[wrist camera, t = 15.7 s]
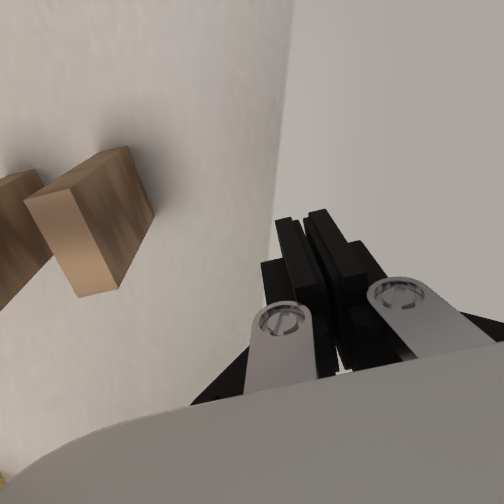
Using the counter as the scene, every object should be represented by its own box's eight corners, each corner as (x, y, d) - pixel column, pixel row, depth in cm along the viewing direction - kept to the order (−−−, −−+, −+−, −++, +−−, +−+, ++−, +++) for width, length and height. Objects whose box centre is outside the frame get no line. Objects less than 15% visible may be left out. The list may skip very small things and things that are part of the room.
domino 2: (154, 216, 30) (118, 288, 20) (127, 223, 30) (78, 298, 20) (126, 145, 27) (69, 188, 17) (97, 153, 27) (23, 200, 17)
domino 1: (70, 237, 30) (-6, 317, 20) (43, 243, 30) (-45, 326, 20) (34, 169, 27) (-73, 224, 18) (5, 176, 28) (-117, 235, 18)
